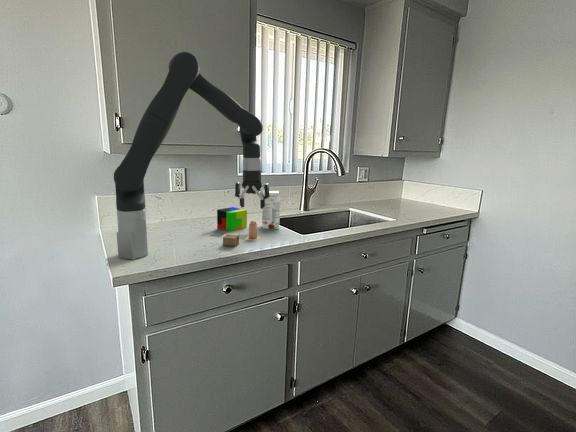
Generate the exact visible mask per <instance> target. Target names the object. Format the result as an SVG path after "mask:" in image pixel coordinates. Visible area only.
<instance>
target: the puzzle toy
mask: <svg viewBox="0 0 576 432" xmlns="http://www.w3.org/2000/svg"><path fill="white" fill-rule="evenodd" d="M216 217H217V218H216V219H217V220H216V221H217V222H216V224H217V225H216V227H217V229H216V230H220V229H221V230H226V231H229V232H234V231H239V230H242V229H246V228H247V227H248V210H247V209H243V208H241V207H240V208H239V207H234V206H231V207H225V208H220V209H216Z"/></svg>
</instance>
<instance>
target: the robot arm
mask: <svg viewBox="0 0 576 432" xmlns="http://www.w3.org/2000/svg"><path fill="white" fill-rule="evenodd" d="M188 90H191V91H193V92H194V93H195V94H197V95H198V96H200V97H201V98H202V99H203V100H204V101H206V102H207V103H208V104H210V105H211V106H212V107H213V108H214V109H216V110H217V112H219V113H220V114H221V115H222V116H223V117H225V118H226V119H227V120H228V121H230V122H232V123H233V124H236V125H238V126H239V133H240V138H241V139H240V140H241V144H242V182H240V181H238V182H235V185H234V186H235V187H234V191H235V192H234V197H236V198H238V199H239V206H240V208H245V196H246V195H247V194H252V195H256V196H258V197H259V198H260V203H259V204H260V209H261V210H262V209H263V208H264V207H265V199H267V198H269V197H270V196H269V191H270V185H269V183H262V160H261V145H260V144H259V142H258V140H257V136H260V135H261V134H262V133H263V130H264V126H263V123H262V121H261V120H260V119H259V118H258V117H257V116H256V115H254V114H253V113H252V112H250V111H249V110H247V109H245V108H243V106H241V105H240V103H238V102H237V101H236V100H234V98H233V97H232V96H231V95H229V94H227V93H226V92H225V91H224V90H221V89H220V88H218V87H217V86H215V85H214V84H213V83H211V82H210V80H207V79H206V78H205V77H204V76H203V75H202V74H201V73H200V64H199V61H198V59H197V57H196V56H195V55H194V54H192V52H191V53H190V52H188V51H181V52H178V53H176V54H175V55H174V56H172V57H171V59H170V61H169V62H168V73H167V75H166V77H165V79H164V82H163V84H162V86H161V88H160V89H159V90H158V92H157V93H156V94H155V96H154V97H153V99H152V100H151V101H150V103H149V105H148V106H147V107H146V110H145V111H144V113H143V115H142V117H141V118H140V119H141V120H140V121H139V124H138V126H137V129H136V131H135V134H134V136H133V139H132V143H131V146H130V148H129V150H128V152H127V153H126V155H125V156H124V158H123V160H122V161H121V163H120V164H119V165H118V166H117V167H116V168H115V170H114V172H113V182H114V184H115V185H114V186H115V187H114V188H115V205H116V217H117V218H116V219H117V230H118V231H117V232H116V241H117V243H116V244H117V245H116V246H117V253H118V254H117V256H118V258H119V259H125V260H135V259H141V258H144V257H146V256H148V255H149V247H148V245H149V244H148V231H147V216H146V215H147V212H146V199H145V198H146V196H145V183H144V181H145V177H146V175H147V174H146V173H147V171H148V168H149V166H150V164H151V162H152V159H153V158H154V155H155V154H156V152H158V150H159V148H160V147H161V145H162V144H163V142H164V140H165V138H166V137H167V136H168V134H169V131H170V129H171V127H172V126H173V124H174V121H175V118H176V117H177V114H178V112H179V110H180V107H181V104H182V101H183V99H184V97H185V95H186V94H187V92H188ZM241 188H243V190H242V192H241ZM262 188H263V189H264V191H265V196H264V194H263V193H264V191H262Z"/></svg>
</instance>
